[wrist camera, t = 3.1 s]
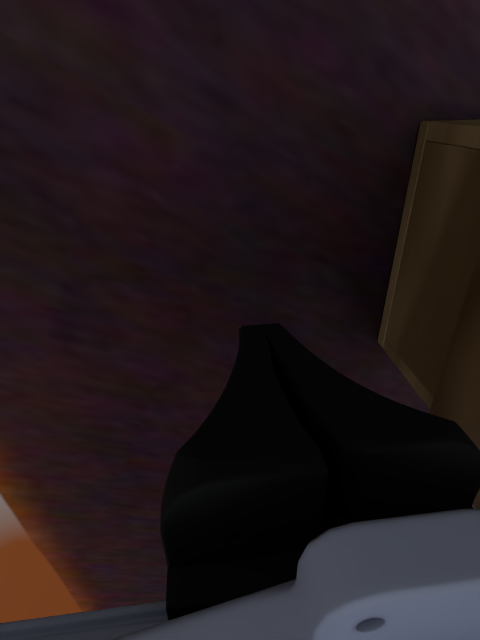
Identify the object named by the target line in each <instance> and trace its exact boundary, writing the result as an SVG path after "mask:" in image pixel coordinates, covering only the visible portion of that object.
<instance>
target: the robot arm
mask: <svg viewBox="0 0 480 640" xmlns="http://www.w3.org/2000/svg"><path fill="white" fill-rule="evenodd" d="M239 340H240V345H239V350H238V354H237V358H236V362H235V365H234V368H233V370H232V373H231V376H230V378H229V381H228V383H227V385H226V387H225V389H224V391H223V393H222V395H221V397H220V398H219V400H218V402H217V403H216V405H215V407H214V408H213V410H212V411H211V413H210V414H209V416H208V417H207V418H206V420H205V421H204V422H203V424H202V425H201V426H200V427H199V429H198V430H197V431H196V432H195V434H194V435H193V436H192V437H191V438H190V439H189V440H188V441H187V442H186V443H185V444H184V445H183V446H182V447H181V448H180V449H179V450H178V451H177V453H176V455H175V458H174V461H173V463H172V466H171V469H170V472H169V475H168V478H167V481H166V485H165V489H164V493H163V498H162V505H161V536H162V541H163V546H164V551H165V555H166V560H167V565H168V573H167V594H166V601H160V602H153V603H145V604H138V605H131V606H123V607H116V608H109V609H102V610H94V611H87V612H80V613H72V614H65V615H58V616H50V617H43V618H36V619H29V620H21V621H14V622H7V623H0V640H480V509H473V507H472V504H473V502H474V499H475V497H476V495H477V493H478V491H479V489H480V450H479V449H478V447H477V446H476V445H475V444H474V443H473V441H472V440H471V439H470V438H469V436H468V435H467V434H466V433H465V432H464V431H463V429H462V428H461V427H460V426H459V425H458V424H457V423H456V422H455V421H452V420H448V419H445V418H442V417H438V416H435V415H432V414H429V413H425V412H422V411H419V410H416V409H413V408H411V407H408V406H406V405H403V404H400V403H398V402H395V401H393V400H391V399H388V398H386V397H384V396H381V395H379V394H377V393H375V392H373V391H371V390H369V389H367V388H365V387H363V386H361V385H359V384H357V383H356V382H354V381H352V380H351V379H349V378H347V377H345V376H344V375H342V374H340V373H339V372H337V371H336V370H334V369H333V368H331V367H330V366H329V365H327V364H326V363H324V362H323V361H322V360H320V359H319V358H318V357H316V356H315V355H314V354H313V353H311V352H310V351H309V350H308V349H307V348H305V347H304V346H303V345H302V344H301V343H300V342H299V341H297V340H296V339H295V338H294V337H293V336H292V335H291V334H290V333H289V332H288V331H287V330H285V329H284V328H283V327H282V326H281V325H280V324H279V323H276V324H263V325H249V326H242V327H241V328H240V329H239Z"/></svg>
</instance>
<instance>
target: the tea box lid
mask: <svg viewBox="0 0 480 640" xmlns="http://www.w3.org/2000/svg"><path fill="white" fill-rule="evenodd" d="M429 414H432V415H435V416H438V417H442V418H445V419H448V420H452V421H455V422H456V423H457V424H458V425H459V426H460V427H461V428H462V429H463V431H464V432H465V433H466V434H467V435H468V436H469V438H470V439H471V440H472V441H473V443H474V444H475V445H476V446H477V447H478V449H479V450H480V250H479V253H478V257H477V260H476V263H475V266H474V269H473V273H472V276H471V279H470V282H469V286H468V289H467V292H466V295H465V298H464V302H463V305H462V308H461V311H460V315H459V318H458V321H457V324H456V327H455V331H454V334H453V337H452V340H451V344H450V347H449V350H448V353H447V356H446V360H445V363H444V366H443V369H442V373H441V376H440V379H439V382H438V385H437V389H436V392H435V395H434V398H433V402H432V405H431V408H430V411H429ZM473 504H474V506H475V508H476V509H480V489H479V491H478V493H477V495H476V497H475V499H474V502H473Z"/></svg>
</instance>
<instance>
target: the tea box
mask: <svg viewBox="0 0 480 640" xmlns="http://www.w3.org/2000/svg"><path fill="white" fill-rule="evenodd" d="M479 250H480V119H478V120H438V121H422V122H421V123H420V128H419V133H418V138H417V143H416V148H415V153H414V158H413V163H412V168H411V174H410V179H409V184H408V189H407V194H406V199H405V204H404V209H403V214H402V220H401V225H400V230H399V235H398V240H397V245H396V250H395V255H394V261H393V266H392V271H391V276H390V281H389V286H388V291H387V296H386V301H385V307H384V312H383V317H382V322H381V327H380V332H379V337H378V343H379V344H380V345H381V347H382V348H383V349H384V351H385V352H386V353H387V355H388V356H389V357H390V358H391V360H392V361H393V362H394V364H395V365H396V366H397V367H398V369H399V370H400V371H401V373H402V374H403V375H404V376H405V378H406V379H407V380H408V382H409V383H410V384H411V385H412V387H413V388H414V389H415V391H416V392H417V393H418V394H419V396H420V397H421V398H422V400H423V401H424V402H425V403H426V405H427V406H428V407H429V409H430V408H431V405H432V402H433V398H434V395H435V392H436V389H437V385H438V382H439V379H440V376H441V373H442V369H443V366H444V363H445V360H446V356H447V353H448V350H449V347H450V344H451V340H452V337H453V334H454V331H455V327H456V324H457V321H458V318H459V315H460V311H461V308H462V305H463V302H464V298H465V295H466V292H467V289H468V286H469V282H470V279H471V276H472V273H473V269H474V266H475V263H476V260H477V257H478V253H479Z"/></svg>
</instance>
